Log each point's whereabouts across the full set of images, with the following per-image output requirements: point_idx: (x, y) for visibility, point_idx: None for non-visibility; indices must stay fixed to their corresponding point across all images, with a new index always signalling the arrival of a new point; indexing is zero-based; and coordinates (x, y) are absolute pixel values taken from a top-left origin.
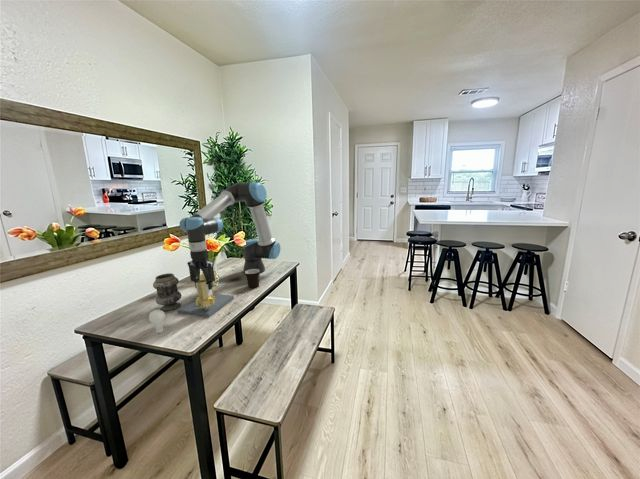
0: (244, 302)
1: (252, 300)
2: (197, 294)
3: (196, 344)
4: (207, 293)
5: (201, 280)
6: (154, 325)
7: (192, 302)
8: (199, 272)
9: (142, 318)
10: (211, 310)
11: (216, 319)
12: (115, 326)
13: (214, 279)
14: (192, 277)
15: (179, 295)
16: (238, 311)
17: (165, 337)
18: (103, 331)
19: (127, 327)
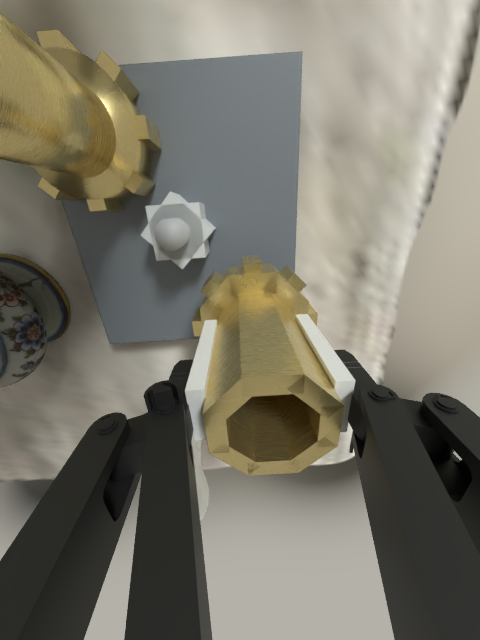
0: (399, 104)
1: (451, 46)
2: (59, 197)
3: (349, 442)
4: None
5: (228, 411)
6: None
7: (101, 256)
8: (197, 569)
9: (28, 397)
10: None
11: (329, 326)
12: (12, 448)
13: (473, 424)
14: (126, 512)
15: (8, 305)
16: (403, 233)
17: None
18: (17, 469)
19: (56, 442)
